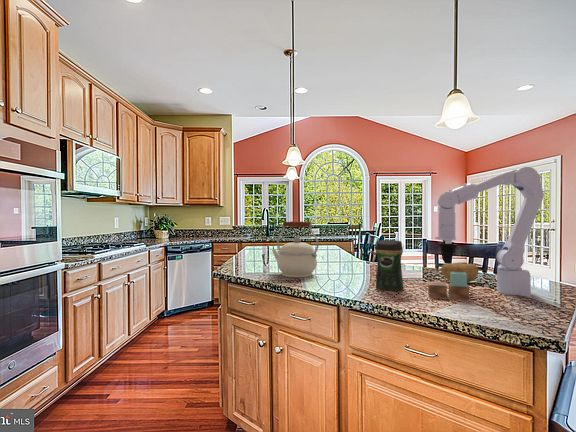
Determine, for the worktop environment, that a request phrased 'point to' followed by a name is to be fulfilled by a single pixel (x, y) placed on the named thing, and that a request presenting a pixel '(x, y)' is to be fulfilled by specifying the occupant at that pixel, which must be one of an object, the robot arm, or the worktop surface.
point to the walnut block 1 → (437, 290)
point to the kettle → (296, 254)
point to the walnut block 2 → (458, 292)
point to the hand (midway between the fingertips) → (446, 262)
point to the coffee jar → (389, 265)
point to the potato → (460, 270)
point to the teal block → (458, 279)
